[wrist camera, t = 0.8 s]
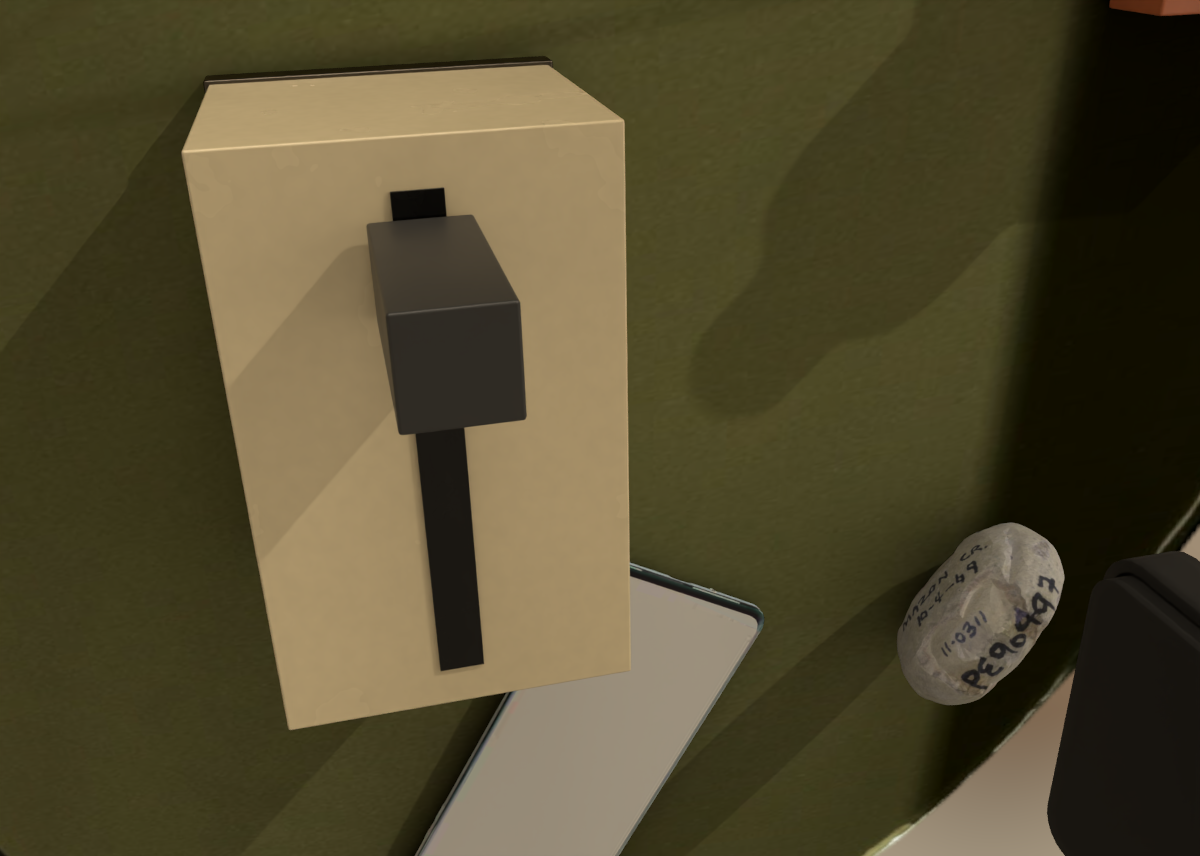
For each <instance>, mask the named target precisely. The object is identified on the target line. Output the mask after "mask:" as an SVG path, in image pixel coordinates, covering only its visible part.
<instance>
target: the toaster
mask: <svg viewBox="0 0 1200 856" xmlns="http://www.w3.org/2000/svg"><path fill="white" fill-rule="evenodd" d="M203 84H204V90H205V96H204V99H203V101H202V103H201V106H200V108H199V111H198V113H197V116H196V118H195V120H194V123H193V125H192V128H191V130H190V133H189V135H188V138H187V140H186V142H185V145H184V147H183V150H182V153H181V154H182V160H183V165H184V170H185V176H186V181H187V187H188V192H189V197H190V203H191V208H192V213H193V219H194V224H195V230H196V235H197V240H198V246H199V251H200V256H201V262H202V267H203V273H204V278H205V283H206V289H207V294H208V299H209V305H210V310H211V316H212V321H213V326H214V332H215V337H216V342H217V348H218V353H219V359H220V364H221V369H222V375H223V380H224V385H225V391H226V396H227V402H228V407H229V412H230V418H231V423H232V429H233V434H234V439H235V445H236V450H237V455H238V461H239V466H240V472H241V477H242V482H243V488H244V493H245V498H246V504H247V509H248V515H249V520H250V525H251V531H252V536H253V541H254V547H255V552H256V558H257V563H258V568H259V574H260V579H261V584H262V590H263V595H264V601H265V606H266V611H267V617H268V622H269V627H270V633H271V638H272V644H273V649H274V654H275V660H276V665H277V670H278V676H279V681H280V687H281V692H282V697H283V703H284V708H285V713H286V719H287V724H288V728H289V730H295V729H300V728H306V727H312V726H317V725H323V724H329V723H335V722H340V721H346V720H352V719H358V718H363V717H369V716H375V715H380V714H386V713H392V712H398V711H403V710H409V709H415V708H420V707H426V706H432V705H438V704H443V703H449V702H455V701H461V700H466V699H472V698H478V697H483V696H489V695H495V694H501V693H506V692H512V691H518V690H523V689H529V688H535V687H541V686H546V685H552V684H558V683H563V682H569V681H575V680H581V679H586V678H592V677H598V676H604V675H609V674H615V673H621V672H626V671H630V670H631V633H630V547H629V462H628V376H627V291H626V206H625V122H624V120H623V119H622V118H620V117H619V116H618V115H616V114H615V113H613V112H612V111H611V110H609V109H608V108H607V107H605V106H604V105H602V104H601V103H600V102H598V101H597V100H596V99H594V98H593V97H591V96H590V95H589V94H587V93H586V92H585V91H583V90H582V89H580V88H579V87H578V86H576V85H575V84H574V83H572V82H571V81H569V80H568V79H567V78H565V77H564V76H563V75H561V74H560V73H558V72H557V71H556V70H554V69H553V62H552V60H550V59H549V58H547V57H546V56H539V57H522V58H504V59H487V60H470V61H453V62H435V63H418V64H401V65H384V66H366V67H349V68H332V69H314V70H297V71H280V72H263V73H245V74H228V75H211V76H206V77H205V79H204V82H203ZM470 214H471V215H474V217H475V219H476V221H477V223H478V225H479V227H480V228H481V230H482V232H483V234H484V236H485V238H486V240H487V242H488V243H489V245H490V247H491V249H492V251H493V253H494V255H495V256H496V258H497V260H498V262H499V264H500V266H501V268H502V269H503V271H504V273H505V275H506V277H507V279H508V281H509V282H510V284H511V286H512V288H513V290H514V292H515V294H516V295H517V297H518V299H519V301H520V305H521V322H522V340H523V358H524V376H525V394H526V412H527V417H526V419H525V420H521V421H513V422H505V423H497V424H489V425H481V426H473V427H465V428H457V429H449V430H441V431H433V432H425V433H417V434H409V435H400V434H399V432H398V428H397V422H396V417H395V412H394V407H393V401H392V396H391V391H390V386H389V380H388V375H387V370H386V365H385V359H384V354H383V349H382V344H381V338H380V333H379V328H378V323H377V314H376V305H375V297H374V288H373V280H372V271H371V263H370V254H369V245H368V237H367V228H366V226H367V224H369V223H377V222H389V221H401V220H412V219H424V218H435V217H447V216H459V215H470Z"/></svg>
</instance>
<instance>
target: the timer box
mask: <svg viewBox="0 0 1200 856" xmlns="http://www.w3.org/2000/svg"><path fill="white" fill-rule="evenodd" d="M1109 7H1110V8H1113V9H1119V10H1126V11H1132V12H1138V13H1145V14H1151V15H1158V16H1172V15H1190V14H1200V0H1110V4H1109Z"/></svg>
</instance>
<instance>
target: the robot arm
mask: <svg viewBox="0 0 1200 856" xmlns="http://www.w3.org/2000/svg"><path fill="white" fill-rule="evenodd" d="M1047 815H1048V822H1049V826H1050V829H1051V833H1052V835H1053V837H1054V839H1055V841H1056V844H1057V845H1058V846H1059V848H1060V849H1061V851H1062V852H1063V854H1064V855H1065V856H1200V562H1199V561H1198V560H1197V559H1196V558H1194V557H1192V556H1190V555H1188V554H1186V553H1185V552H1177V551H1171V552H1165V553H1159V554H1153V555H1147V556H1142V557H1136V558H1130V559H1124V560H1120V561H1117V562H1115V563H1113V564H1112V565H1111V566H1110V567H1109V568H1108V570H1107V571H1106V573H1105V576H1104V579H1103V580H1102V581H1099V582H1098V583H1097V584H1096V585H1095V586H1094V588H1093V590H1092V593H1091V596H1090V601H1089V606H1088V611H1087V615H1086V620H1085V625H1084V630H1083V635H1082V640H1081V645H1080V650H1079V654H1078V659H1077V664H1076V669H1075V674H1074V679H1073V684H1072V689H1071V694H1070V698H1069V703H1068V708H1067V714H1066V718H1065V723H1064V728H1063V733H1062V737H1061V742H1060V747H1059V753H1058V757H1057V762H1056V767H1055V772H1054V777H1053V781H1052V786H1051V791H1050V796H1049V801H1048V809H1047Z"/></svg>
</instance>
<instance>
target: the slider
mask: <svg viewBox="0 0 1200 856" xmlns="http://www.w3.org/2000/svg"><path fill="white" fill-rule="evenodd" d="M366 228H367V237H368V245H369V254H370V263H371V271H372V280H373V288H374V297H375V305H376V314H377V323H378V328H379V333H380V338H381V344H382V349H383V354H384V359H385V365H386V370H387V375H388V380H389V386H390V391H391V396H392V401H393V407H394V412H395V417H396V422H397V428H398V432H399V434H400V435H409V434H417V433H425V432H433V431H441V430H449V429H457V428H465V427H473V426H481V425H489V424H497V423H505V422H513V421H521V420H525V419H526V417H527V412H526V394H525V376H524V358H523V340H522V322H521V305H520V301H519V299H518V297H517V295H516V294H515V292H514V290H513V288H512V286H511V284H510V282H509V281H508V279H507V277H506V275H505V273H504V271H503V269H502V268H501V266H500V264H499V262H498V260H497V258H496V256H495V255H494V253H493V251H492V249H491V247H490V245H489V243H488V242H487V240H486V238H485V236H484V234H483V232H482V230H481V228H480V227H479V225H478V223H477V221H476V219H475V217H474V215H471V214H470V215H459V216H447V217H435V218H424V219H412V220H401V221H389V222H377V223H369V224H367V226H366Z"/></svg>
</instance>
